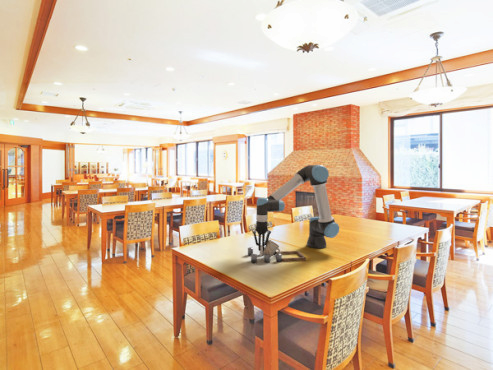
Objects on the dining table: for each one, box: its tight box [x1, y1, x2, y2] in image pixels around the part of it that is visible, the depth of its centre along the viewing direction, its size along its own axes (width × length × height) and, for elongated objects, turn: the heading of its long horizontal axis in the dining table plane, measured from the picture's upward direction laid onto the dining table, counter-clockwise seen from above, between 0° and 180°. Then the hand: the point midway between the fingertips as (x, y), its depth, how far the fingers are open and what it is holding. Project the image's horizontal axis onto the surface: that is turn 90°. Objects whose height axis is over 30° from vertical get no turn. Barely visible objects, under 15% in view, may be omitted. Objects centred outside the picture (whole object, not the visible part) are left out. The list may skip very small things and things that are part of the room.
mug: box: [263, 239, 281, 258], centre depth 186 cm, size 8×13×10 cm
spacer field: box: [247, 246, 283, 264], centre depth 186 cm, size 20×19×5 cm
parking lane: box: [276, 250, 307, 262], centre depth 189 cm, size 16×16×2 cm
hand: (261, 255), depth 186 cm, fingers closed
